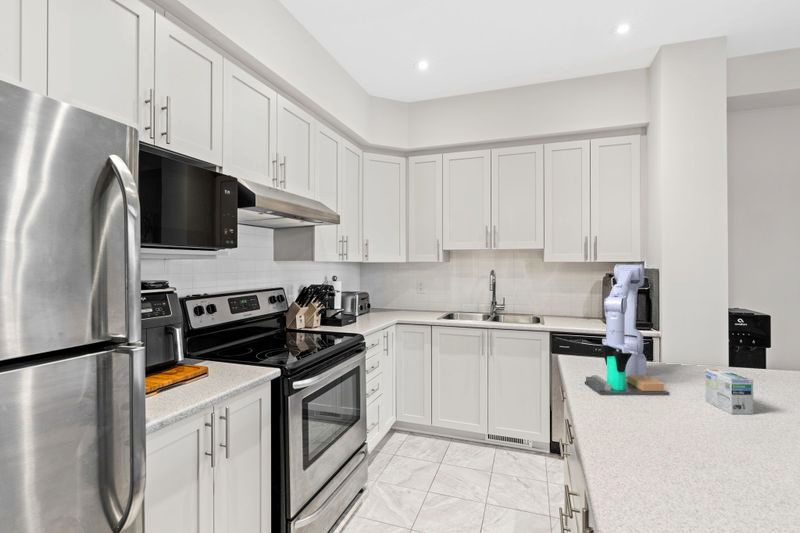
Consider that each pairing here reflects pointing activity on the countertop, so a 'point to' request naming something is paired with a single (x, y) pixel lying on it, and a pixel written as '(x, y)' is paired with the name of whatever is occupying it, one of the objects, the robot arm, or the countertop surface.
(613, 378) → the candle
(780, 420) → the countertop surface
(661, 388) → the tan flat block
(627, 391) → the dark grey flat block
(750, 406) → the light bulb box
